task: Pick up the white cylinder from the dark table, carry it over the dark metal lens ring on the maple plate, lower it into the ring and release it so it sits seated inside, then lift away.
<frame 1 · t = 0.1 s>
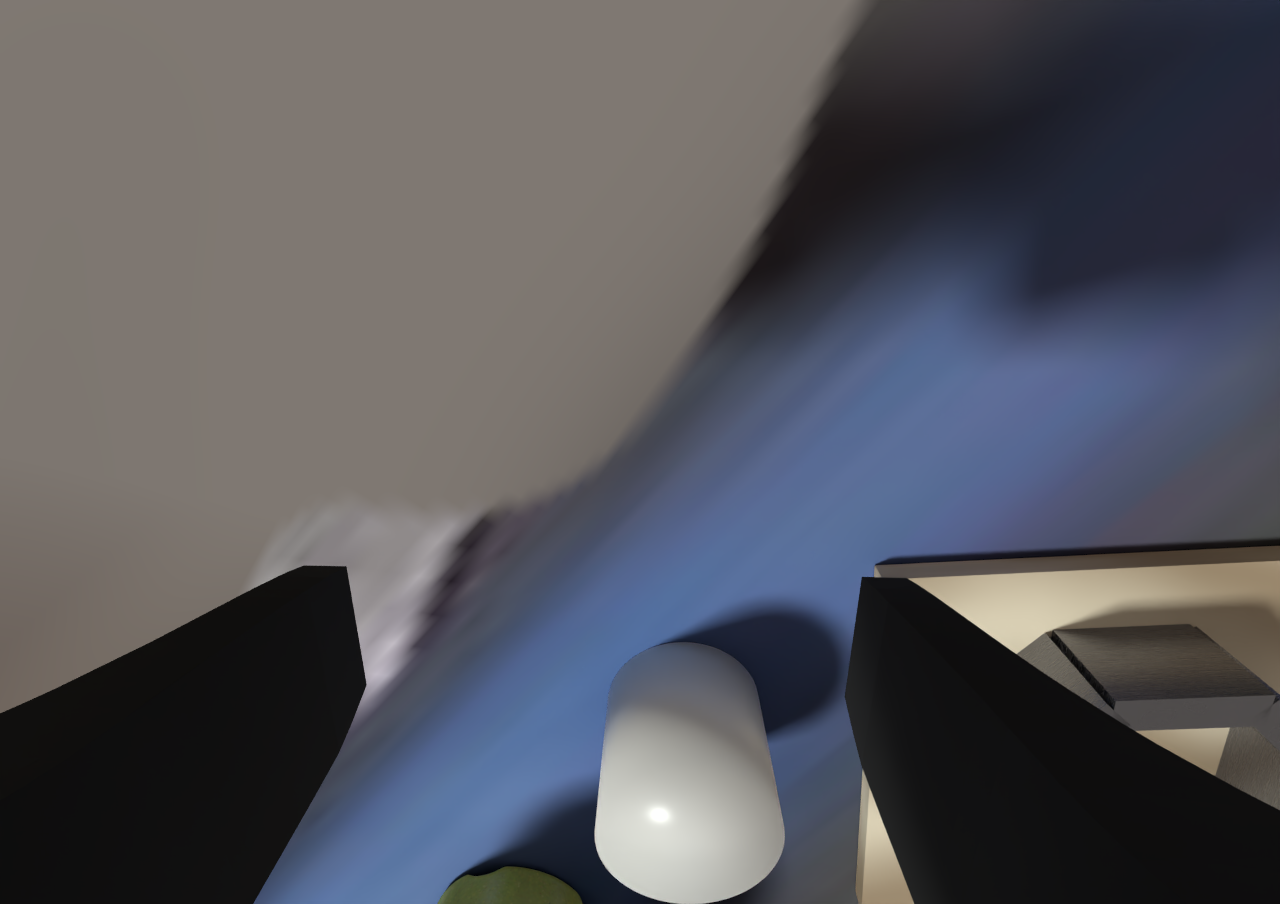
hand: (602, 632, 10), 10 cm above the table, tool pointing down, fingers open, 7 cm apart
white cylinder: (683, 704, 23), on the table
mount plate: (1078, 738, 23), on the table
lens ring: (1121, 796, 20), on the mount plate, point 2 cm above the table
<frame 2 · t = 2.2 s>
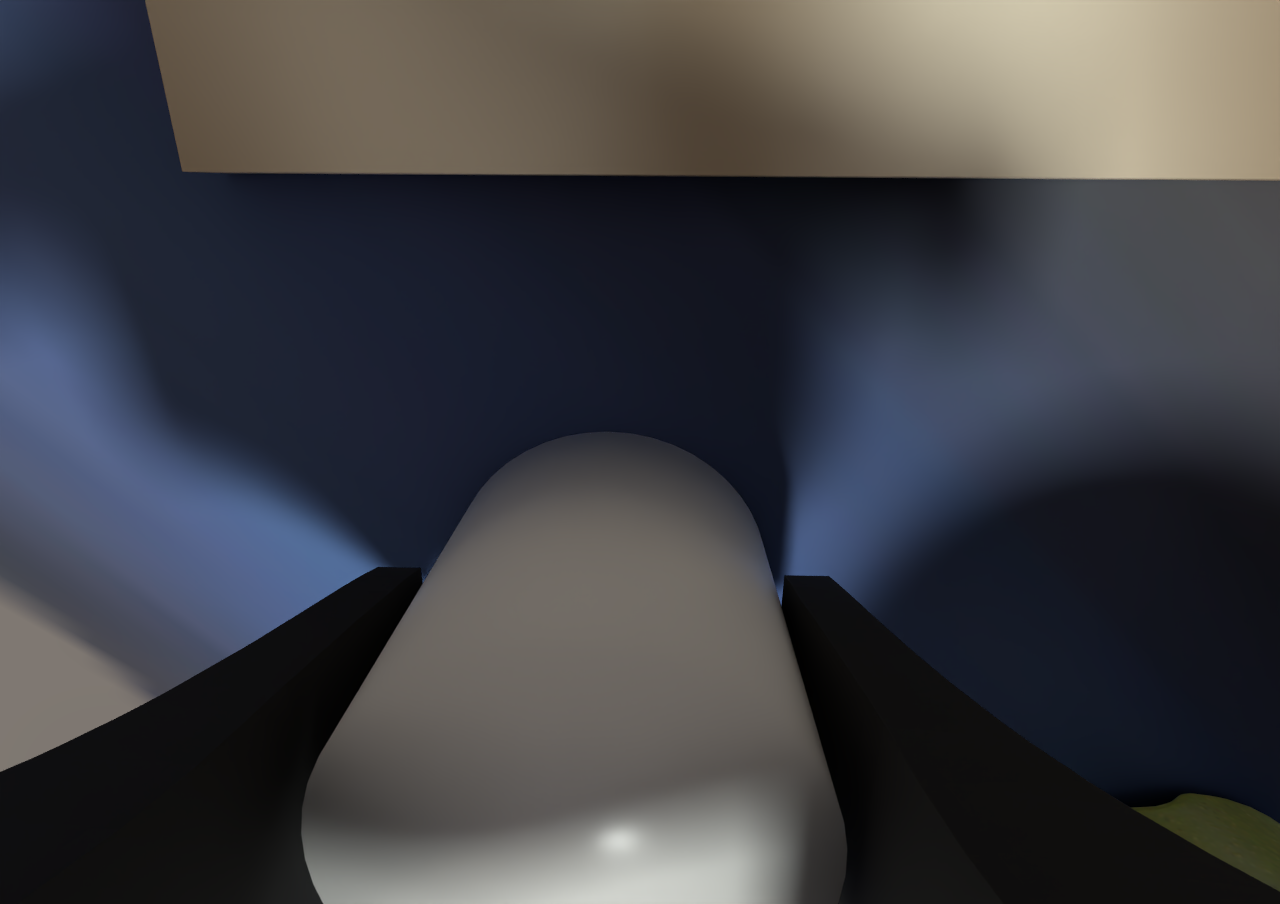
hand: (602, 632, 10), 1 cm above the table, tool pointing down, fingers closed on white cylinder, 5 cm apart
plant pot: (1119, 890, 13), on the table
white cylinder: (609, 578, 11), on the table, touching gripper
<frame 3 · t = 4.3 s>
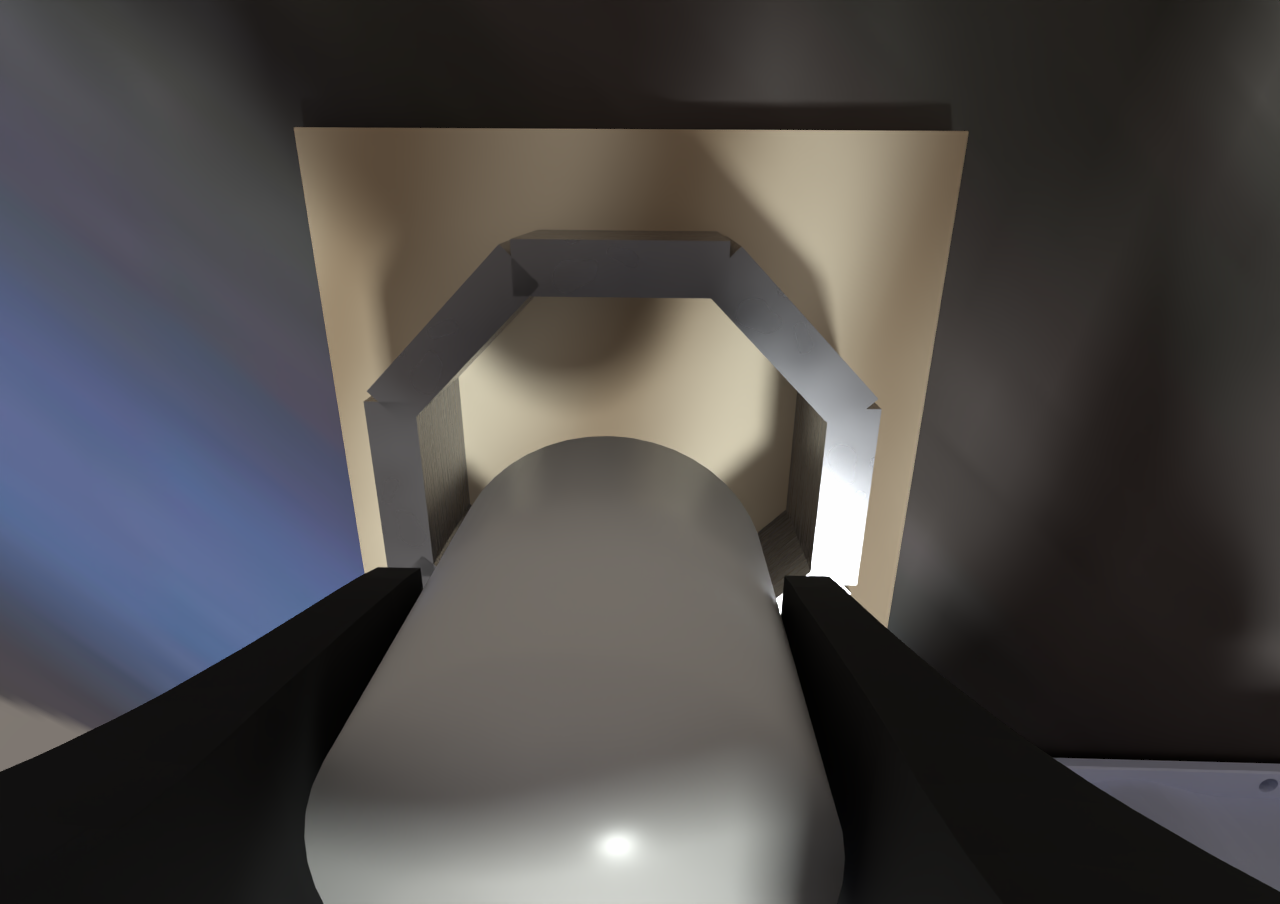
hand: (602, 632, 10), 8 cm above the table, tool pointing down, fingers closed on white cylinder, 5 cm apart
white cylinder: (609, 581, 11), point 7 cm above the table, touching gripper
mount plate: (628, 434, 17), on the table
lens ring: (624, 469, 15), on the mount plate, point 2 cm above the table
when the fingers open (4 cm above the table, at t = 6.2 s): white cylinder drops 2 cm, resting on mount plate.
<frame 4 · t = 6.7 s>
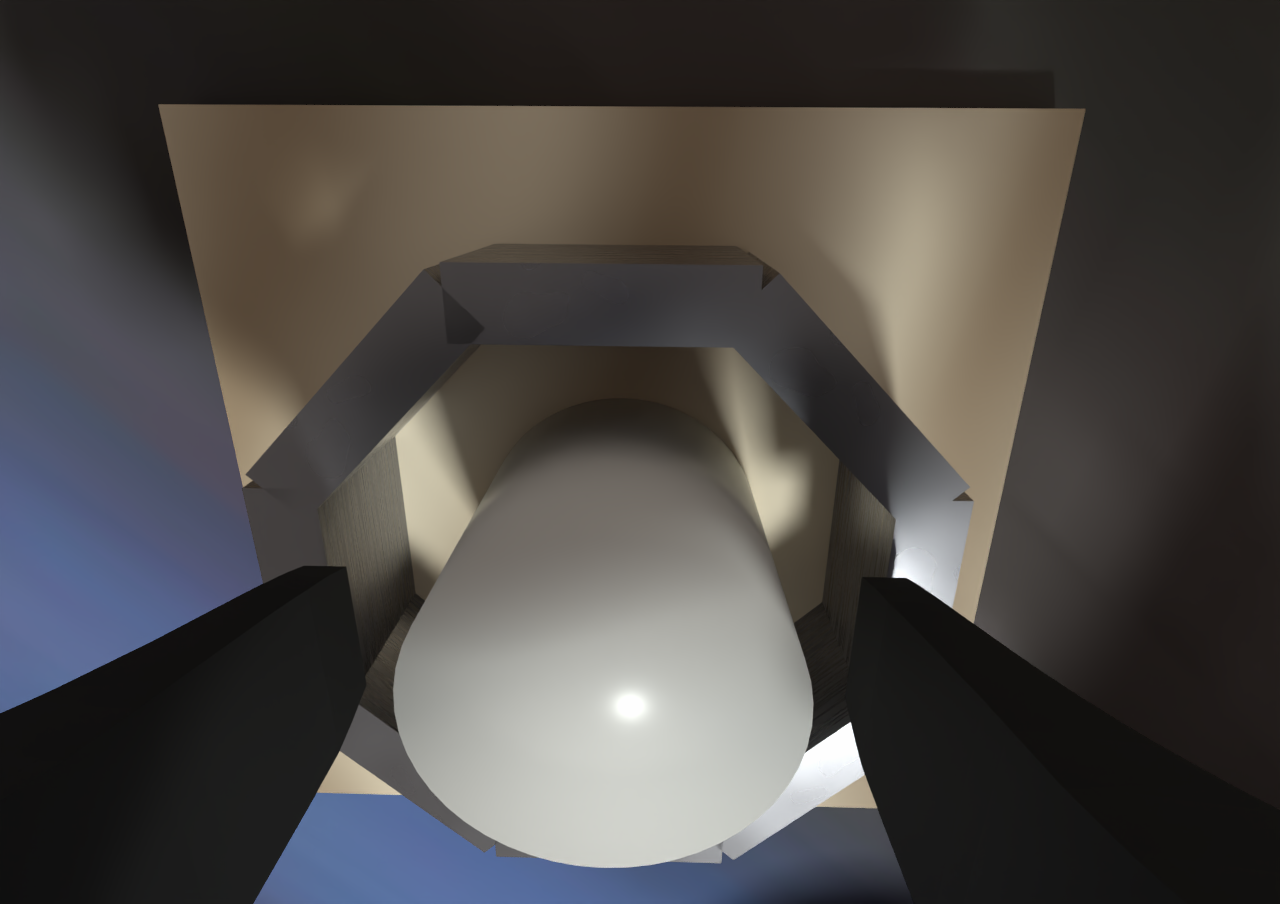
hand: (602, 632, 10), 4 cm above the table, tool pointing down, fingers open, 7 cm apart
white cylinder: (621, 525, 13), point 1 cm above the table, touching mount plate
mount plate: (619, 503, 14), on the table
lens ring: (611, 563, 11), on the mount plate, point 2 cm above the table
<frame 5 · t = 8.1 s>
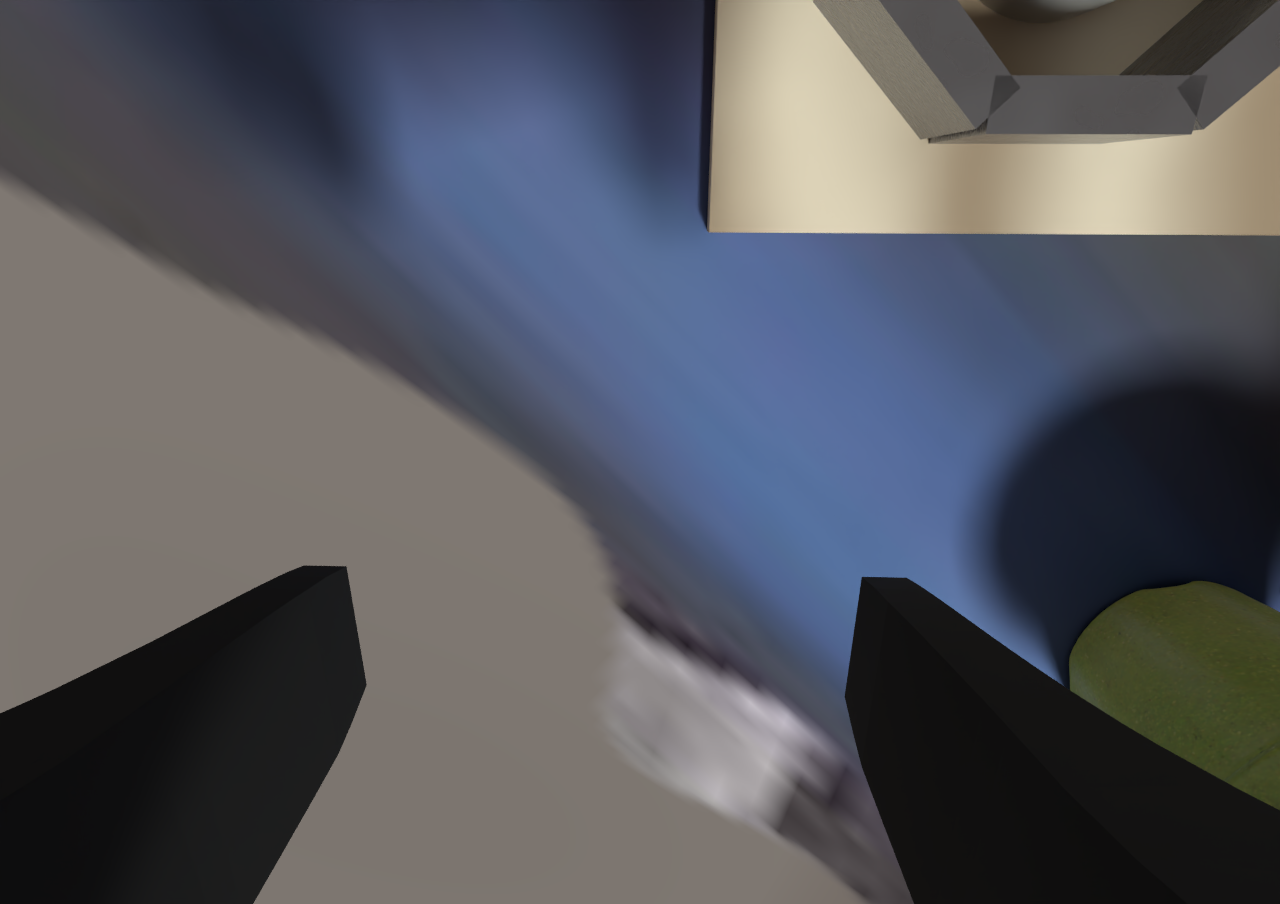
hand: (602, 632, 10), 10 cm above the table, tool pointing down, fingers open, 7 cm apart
plant pot: (1154, 653, 22), on the table
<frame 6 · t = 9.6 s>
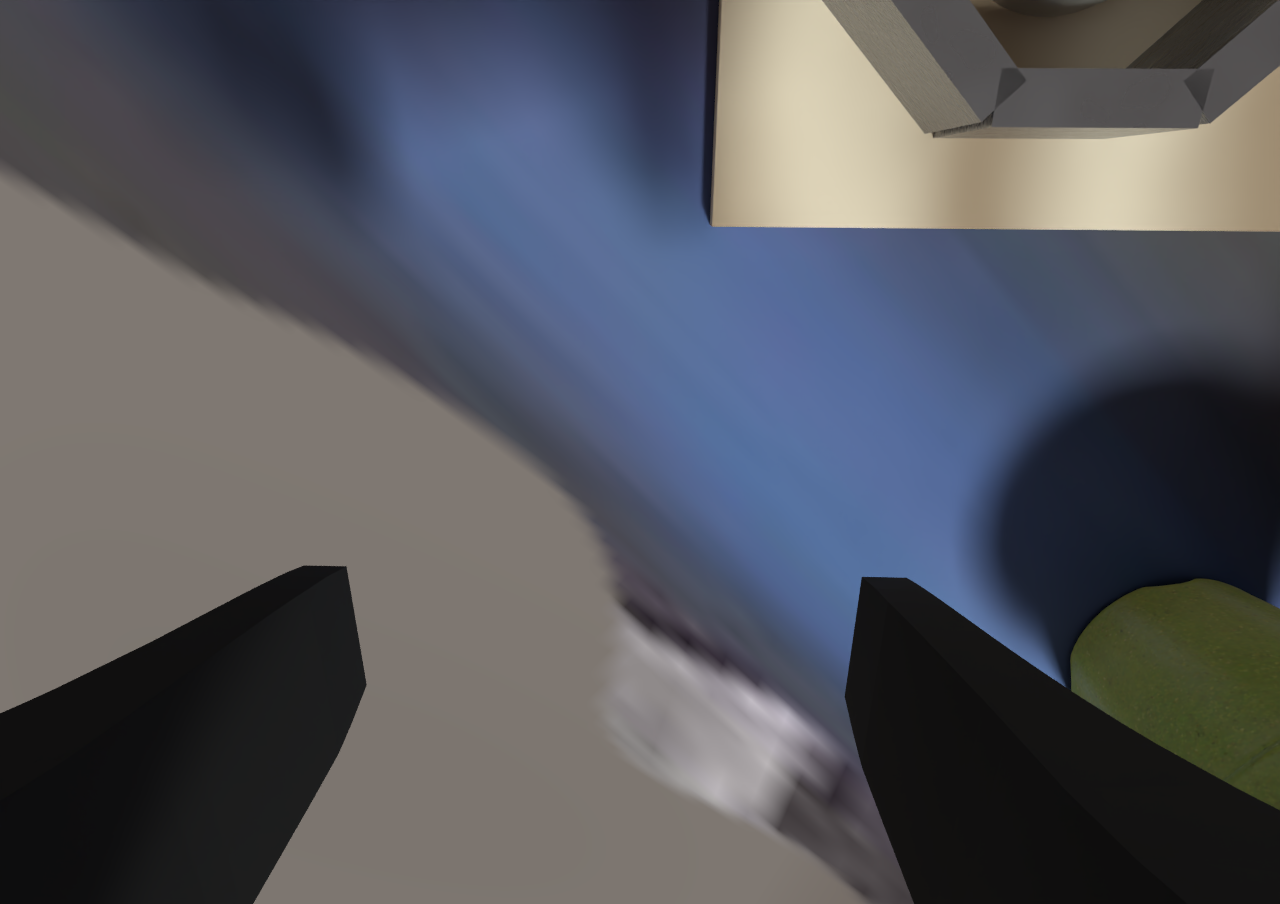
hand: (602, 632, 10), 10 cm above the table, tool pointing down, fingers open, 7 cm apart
plant pot: (1156, 651, 22), on the table
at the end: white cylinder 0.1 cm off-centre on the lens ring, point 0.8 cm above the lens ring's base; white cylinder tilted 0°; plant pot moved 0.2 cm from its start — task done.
